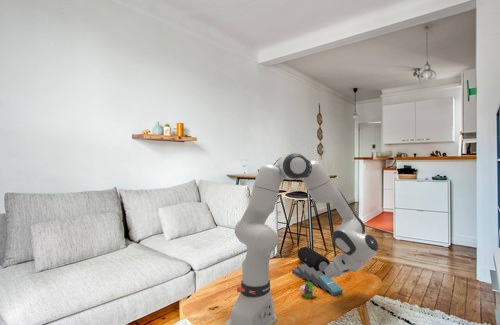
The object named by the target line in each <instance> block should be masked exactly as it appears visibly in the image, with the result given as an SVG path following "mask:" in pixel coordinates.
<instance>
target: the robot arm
mask: <svg viewBox="0 0 500 325" xmlns="http://www.w3.org/2000/svg"><path fill="white" fill-rule="evenodd" d="M299 179H300V180H301V181H302V182H303V183H304V185H305V187H306V189H307V192H308V194H309V196H310V197H311V198H312V200H313V201H314V202H316V203H318V204H319V203H320V204H331V205H333V207H334V208H335V209H336V211H337V213H338V214H339V216H340V217H341V220H342V222H341V223H340V225H339V226H338V227H337V228H336V229H335V230H334V231H333V233H332V235H331V240H332V243H333V244H334V245H335V247H336V248H337V249H338V250H340V252H342V253H341V254H340V255H338V256H335V257H334V258H332V261H331V262H330V264H329V265H328V266H327V267H326V268H325V270H324V272H325V275H326V276H327V277H328V278H333V277H334V278H337V277H341V276H342V275H344V274H348V273H356V272H358V271H359V270H360V269H362V268H363V267H364V266H365V264H366V263H368V262H369V261H371V259H373V258H374V256H375V255H377V253H378V251H379V243H378V241H377V240H376V238H375V237H374V236H373V235H371V234H370V233H369V234H366V226H365V223H364V221H363V220H362V219H361V218H360V217H359V216H358V215H357V214H356V213H355V212H354V210H353V208H352V207H351V205H350V203H349V202H348V200H347V199H346V198H345V196H344V194H343V193H342V191H340V190H339V188H337V187H336V186H335V184H334V183H333V182H332V180H331V177H330V175H329V173H328V172H327V170H326V169H325V168H324V166H323V165H322V164H321V162H320V161H318V160H315V159H313V160H312V159H311V160H309V159H307V158H306V157H305V156H304V155H302V154H300V153H289V154H285V155H283V156H281V157H280V158H278V159H277V160H276V161H275V162H274V163H273V164H271V163H270V164H269V163H266V164H263V165H262V166H260V168H259V170H258V172H257V174H256V177H255V180H254V183H253V186H252V190H251V194H250V198H249V202H248V205H247V207H246V209H245V211H244V213H243V214H242V217H241V218H240V220H239V221H237V223H236V224H235V226H234V234H235V237H236V239H237V240H238V241H239V242H240V243H241V244H243V245H245V247H246V255H245V258H244V259H243V261H242V263H241V270H242V272H241V273H242V275H241V276H242V280H241V284H240V286H239V285H238V286H237V287H236V292H238V293H239V294H238V296H237V299H236V300H235V302H234V304H233V306H232V309H231V311H230V316H229V318H228V319H227V321H226V322H225V323H224V325H273V324H275V323H276V322H277V321H278V317H277V315H276V314H275V304H274V298H273V296H272V294H271V292H270V291H271V280H270V276H269V274H270V268H269V267H270V266H269V265H270V258H271V255H272V252H273V251H274V250H275V249H276V247H277V246H278V245H277V244H278V240H279V238H278V234H277V233H276V231H275V229H273V228H271V226H269V225H268V224H266V222H267V219H268V218H269V217H270V215H271V214H272V213H273V212H275V208H276V204H277V200H278V197H279V191H280V186H281V184H282V182H283V181H285V180H289V181H293V180H299Z"/></svg>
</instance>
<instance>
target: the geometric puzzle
mask: <svg viewBox="0 0 500 325" xmlns="http://www.w3.org/2000/svg"><path fill="white" fill-rule="evenodd" d="M316 288H317V287H316ZM316 288H315V287H314V283H313V282H309V281H308V280H304V284H301V286H300V287H299V289H300V291H301V292H302V293H303V294H302V296H303V297H305V298H309V299H312V298H313V297H314V295H315V294H314V293H317V289H316ZM313 294H314V295H313Z"/></svg>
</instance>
